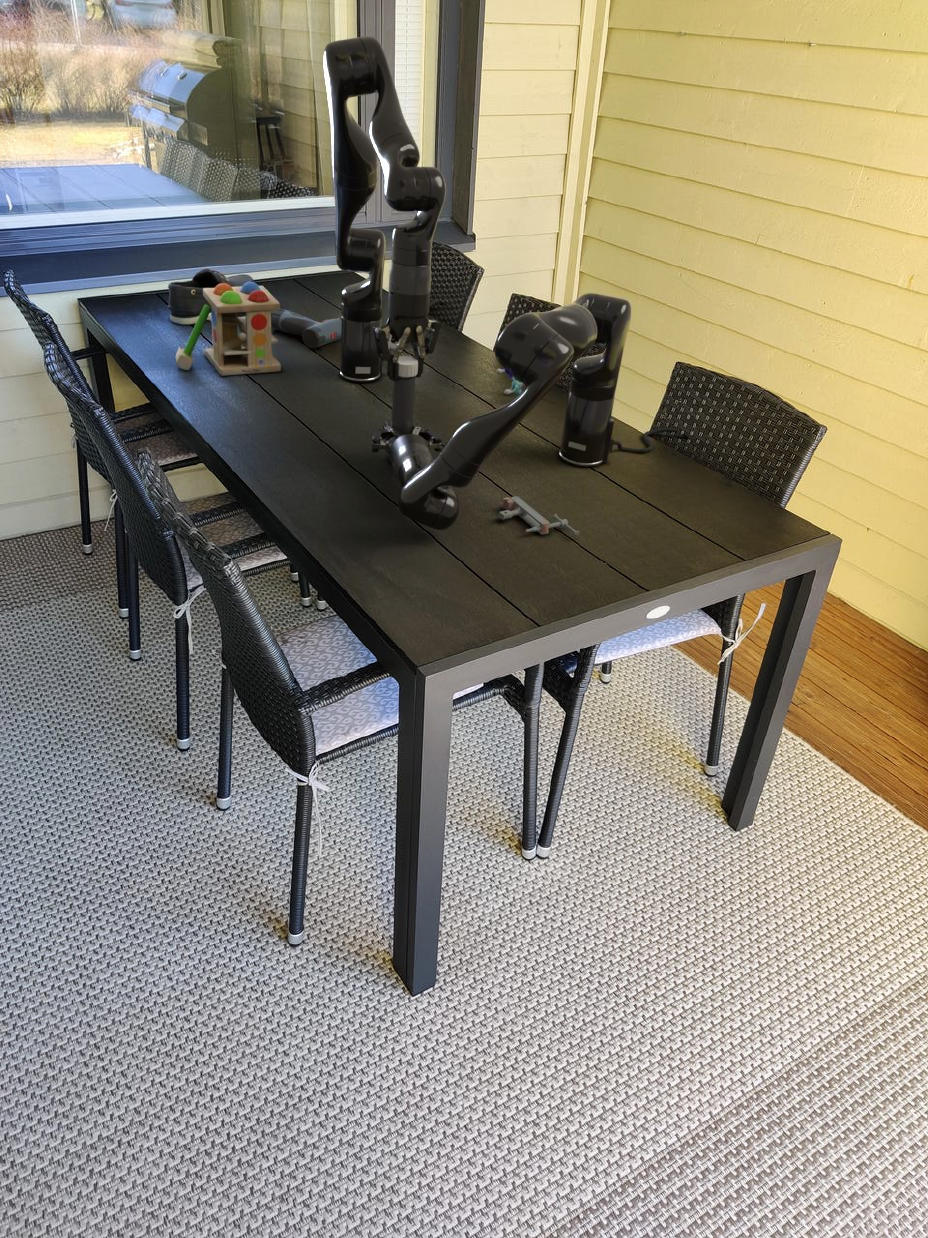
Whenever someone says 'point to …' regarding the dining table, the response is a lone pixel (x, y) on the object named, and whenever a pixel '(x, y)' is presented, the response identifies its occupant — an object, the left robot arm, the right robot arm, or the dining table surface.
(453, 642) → the dining table surface
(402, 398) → the bottle
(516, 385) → the molecular model
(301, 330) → the power drill
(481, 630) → the dining table surface
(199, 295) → the boat shoe
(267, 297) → the pounding bench toy
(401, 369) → the lid
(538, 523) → the clamp
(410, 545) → the dining table surface
